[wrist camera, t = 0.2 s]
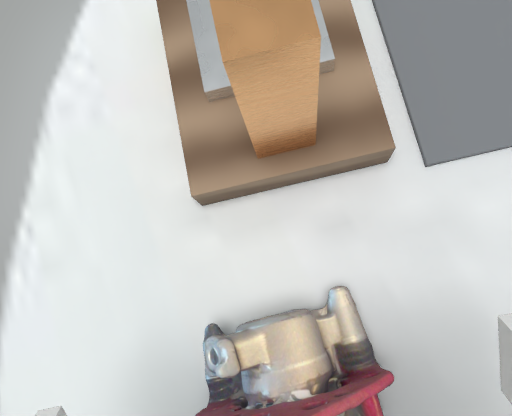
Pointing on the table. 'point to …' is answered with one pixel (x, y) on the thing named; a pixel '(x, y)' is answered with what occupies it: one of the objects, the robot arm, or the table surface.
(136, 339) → the table surface
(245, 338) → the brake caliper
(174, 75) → the wooden peg stand
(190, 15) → the square frame with handle
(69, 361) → the table surface
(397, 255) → the table surface
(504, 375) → the robot arm
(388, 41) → the rubber mat
